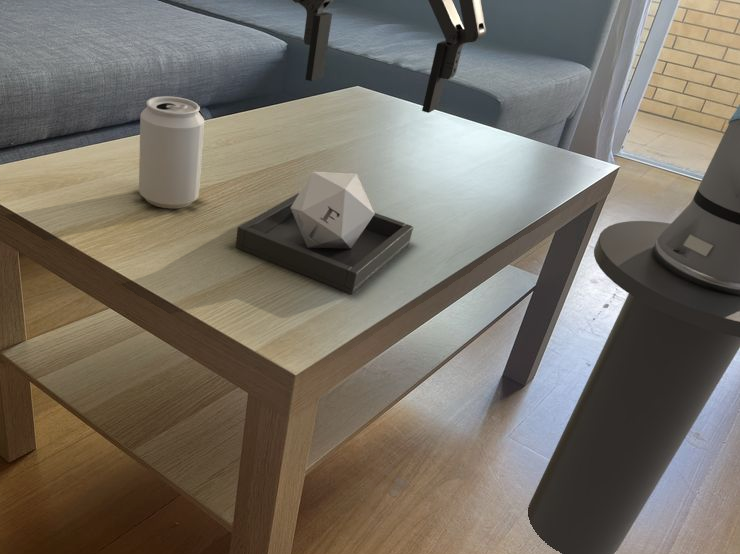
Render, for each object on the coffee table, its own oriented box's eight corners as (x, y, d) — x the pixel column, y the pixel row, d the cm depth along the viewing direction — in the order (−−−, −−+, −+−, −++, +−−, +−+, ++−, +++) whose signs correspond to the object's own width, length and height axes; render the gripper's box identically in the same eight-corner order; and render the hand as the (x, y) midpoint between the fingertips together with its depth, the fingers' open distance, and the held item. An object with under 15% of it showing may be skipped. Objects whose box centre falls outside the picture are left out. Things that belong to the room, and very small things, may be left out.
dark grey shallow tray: (408, 245, 89) (413, 226, 87) (351, 294, 77) (356, 273, 76) (303, 207, 94) (306, 188, 93) (235, 247, 82) (237, 226, 81)
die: (271, 237, 86) (291, 195, 77) (309, 185, 89) (332, 139, 80) (331, 277, 86) (358, 240, 77) (366, 223, 89) (396, 182, 80)
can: (160, 181, 95) (164, 88, 88) (209, 197, 93) (217, 104, 86) (126, 199, 89) (127, 101, 82) (178, 217, 87) (183, 117, 80)
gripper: (274, -167, 66) (252, 71, 78) (542, -133, 57) (471, 131, 69) (312, -161, 72) (286, 61, 84) (563, -129, 63) (493, 115, 75)
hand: (370, 93), depth 77 cm, fingers open, 13 cm apart
